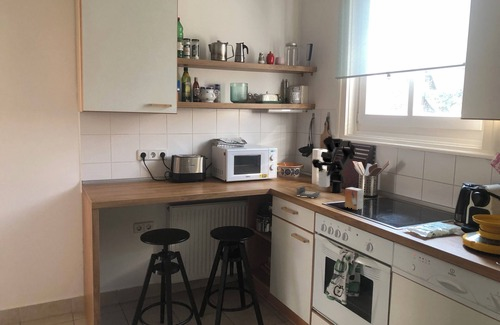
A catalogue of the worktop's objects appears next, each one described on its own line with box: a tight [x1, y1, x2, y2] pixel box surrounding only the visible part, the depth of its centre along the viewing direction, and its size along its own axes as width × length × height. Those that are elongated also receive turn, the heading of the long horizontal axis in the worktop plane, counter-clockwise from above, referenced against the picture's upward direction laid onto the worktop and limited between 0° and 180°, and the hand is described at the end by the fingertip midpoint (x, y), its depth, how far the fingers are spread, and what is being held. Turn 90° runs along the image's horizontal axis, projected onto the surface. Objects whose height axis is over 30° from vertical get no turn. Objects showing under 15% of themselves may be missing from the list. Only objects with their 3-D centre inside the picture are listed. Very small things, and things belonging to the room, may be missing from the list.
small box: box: [344, 186, 365, 211], centre depth 221 cm, size 8×6×10 cm
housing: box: [318, 168, 331, 188], centre depth 247 cm, size 5×5×10 cm
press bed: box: [295, 185, 321, 198], centre depth 252 cm, size 10×11×5 cm
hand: (323, 175), depth 245 cm, fingers closed on housing, 5 cm apart
